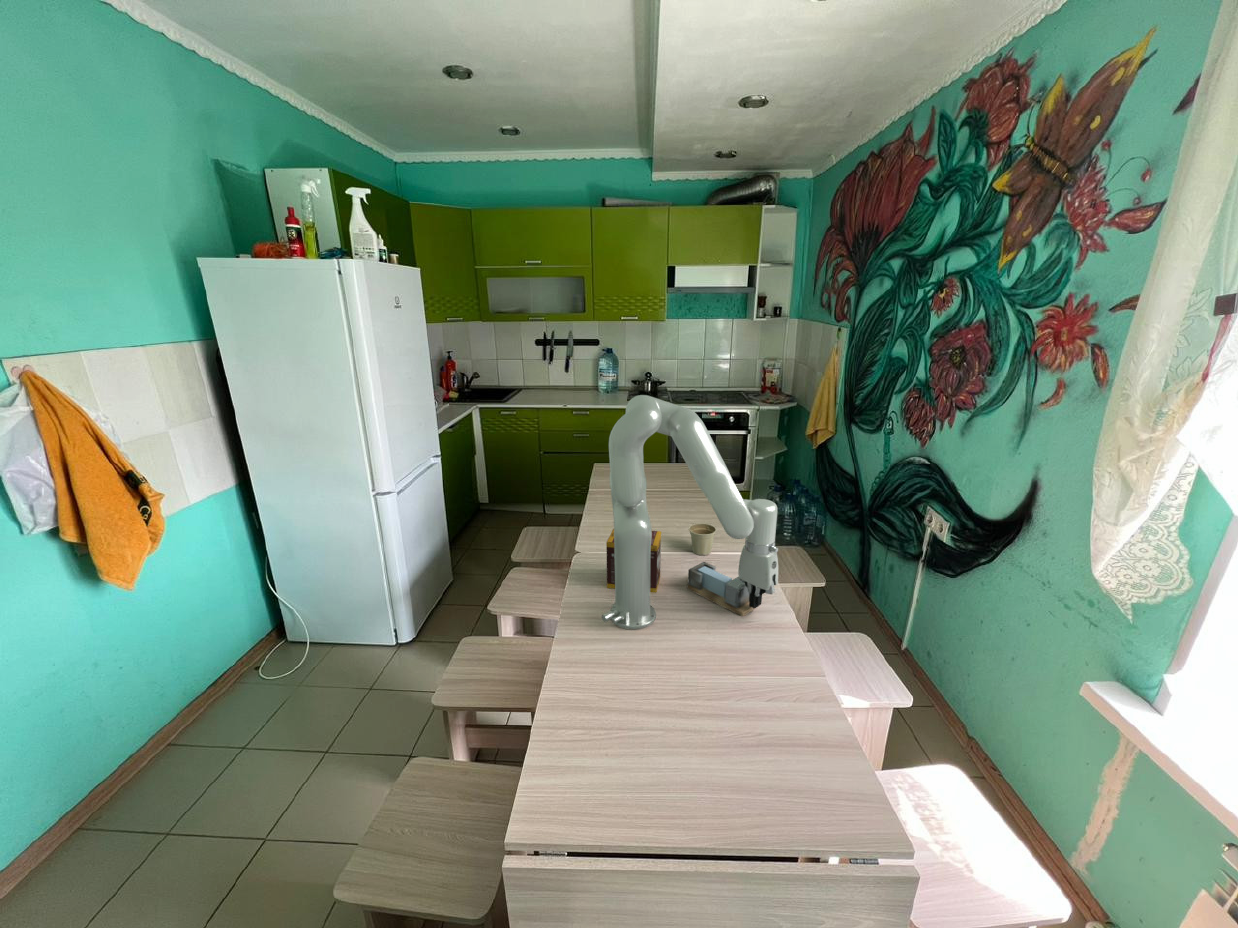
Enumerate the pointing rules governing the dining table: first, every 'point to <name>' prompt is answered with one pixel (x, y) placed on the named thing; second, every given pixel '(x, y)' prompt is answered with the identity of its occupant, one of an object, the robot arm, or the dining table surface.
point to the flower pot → (702, 538)
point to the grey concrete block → (736, 593)
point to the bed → (696, 587)
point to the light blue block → (714, 581)
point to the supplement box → (654, 561)
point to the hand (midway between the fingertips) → (754, 605)
